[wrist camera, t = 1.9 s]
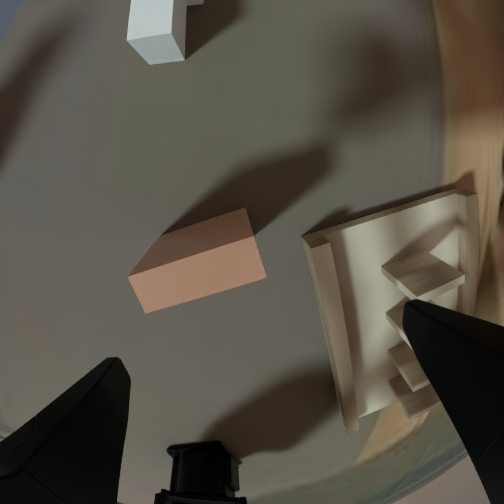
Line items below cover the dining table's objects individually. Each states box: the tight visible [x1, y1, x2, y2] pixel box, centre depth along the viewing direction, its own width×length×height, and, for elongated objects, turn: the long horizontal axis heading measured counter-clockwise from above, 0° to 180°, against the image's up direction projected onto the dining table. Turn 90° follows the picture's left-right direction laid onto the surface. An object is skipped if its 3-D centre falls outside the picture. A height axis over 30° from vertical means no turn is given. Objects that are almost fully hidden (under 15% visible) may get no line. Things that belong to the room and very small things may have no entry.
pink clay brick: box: [128, 208, 267, 313], centre depth 16 cm, size 6×2×7 cm, turn 107°
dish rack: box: [301, 188, 479, 434], centre depth 20 cm, size 14×20×6 cm
